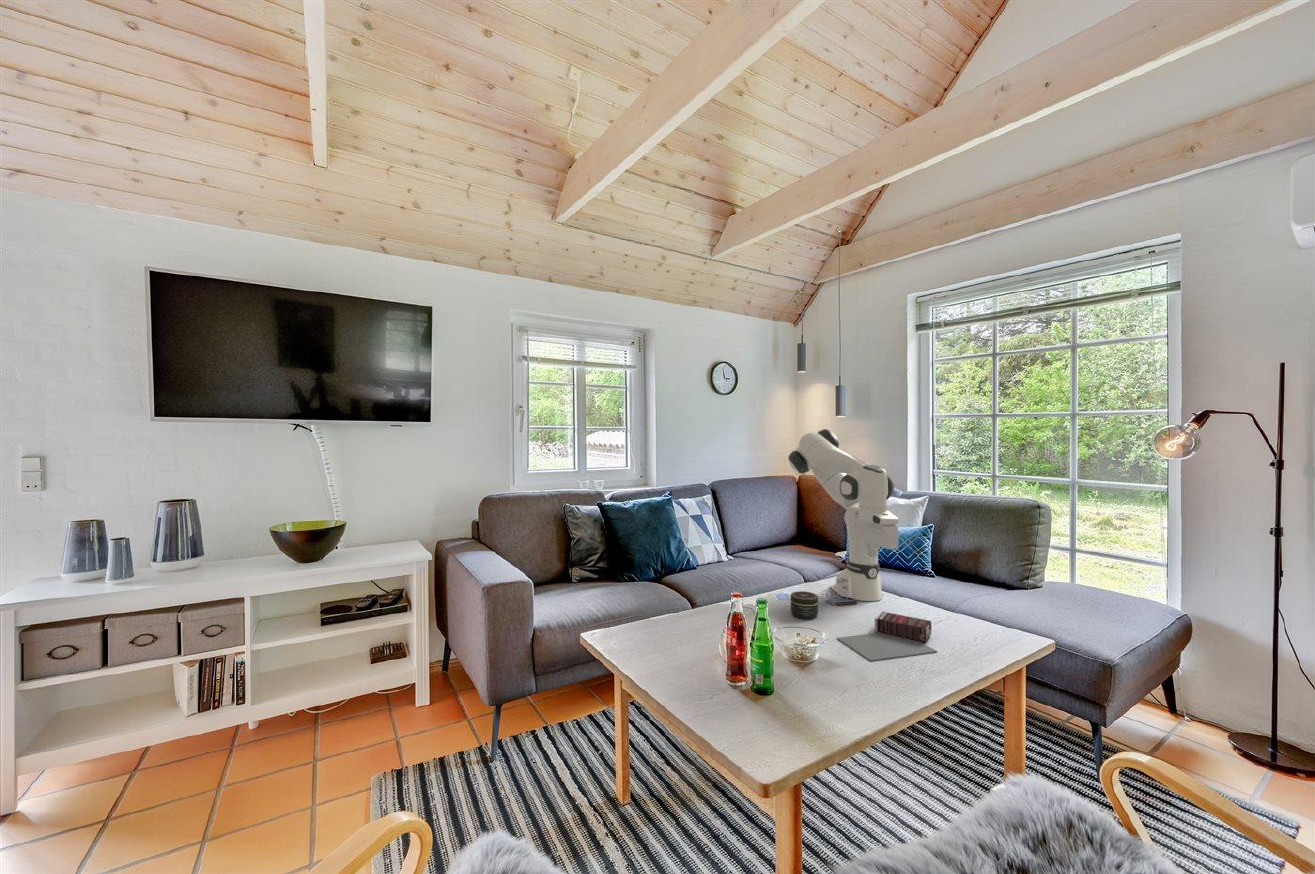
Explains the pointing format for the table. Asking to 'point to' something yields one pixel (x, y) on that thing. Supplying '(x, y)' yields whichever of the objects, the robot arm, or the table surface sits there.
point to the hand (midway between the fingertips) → (872, 556)
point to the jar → (804, 605)
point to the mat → (885, 646)
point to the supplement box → (903, 626)
